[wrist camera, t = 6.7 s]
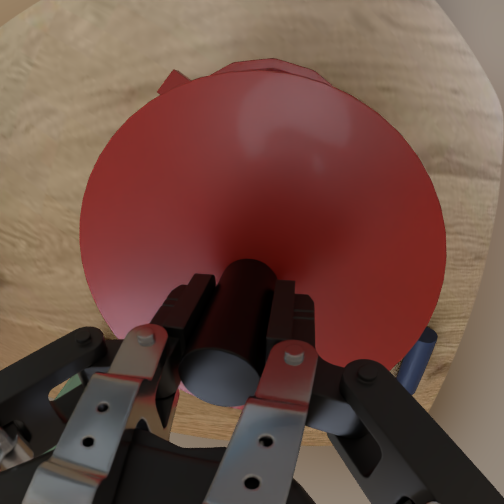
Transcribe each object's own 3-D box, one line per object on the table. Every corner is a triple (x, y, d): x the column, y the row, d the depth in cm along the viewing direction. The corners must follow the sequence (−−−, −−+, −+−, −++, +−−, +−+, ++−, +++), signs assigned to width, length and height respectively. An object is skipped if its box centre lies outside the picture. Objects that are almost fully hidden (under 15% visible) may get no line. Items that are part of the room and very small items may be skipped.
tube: (408, 327, 37) (418, 344, 34) (430, 325, 37) (441, 341, 34) (390, 380, 41) (397, 398, 38) (411, 377, 41) (418, 394, 38)
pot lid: (228, -2, 10) (165, -82, 4) (493, 266, 12) (565, 349, 6) (53, 270, 16) (-21, 332, 10) (267, 430, 19) (253, 516, 13)
